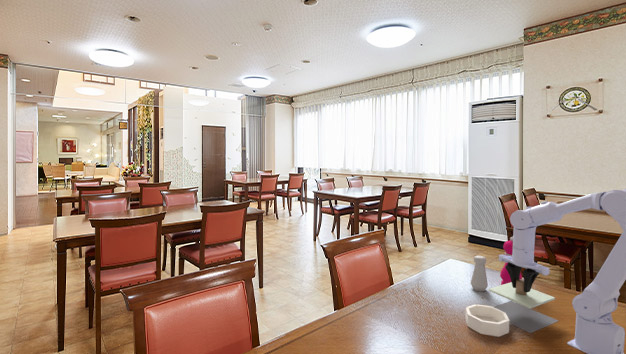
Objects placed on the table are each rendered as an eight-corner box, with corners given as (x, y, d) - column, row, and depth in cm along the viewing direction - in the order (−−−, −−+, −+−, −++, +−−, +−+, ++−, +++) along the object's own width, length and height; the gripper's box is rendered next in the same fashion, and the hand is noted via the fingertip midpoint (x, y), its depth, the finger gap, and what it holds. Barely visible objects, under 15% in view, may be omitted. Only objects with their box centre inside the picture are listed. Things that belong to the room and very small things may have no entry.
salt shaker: (489, 293, 120) (491, 259, 119) (472, 292, 121) (474, 258, 120) (484, 287, 126) (485, 254, 125) (468, 286, 127) (469, 253, 126)
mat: (558, 321, 101) (559, 320, 101) (530, 334, 94) (530, 333, 94) (511, 301, 114) (511, 300, 114) (482, 311, 107) (483, 310, 107)
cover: (554, 299, 100) (556, 285, 100) (529, 308, 95) (531, 293, 94) (513, 283, 112) (514, 270, 112) (488, 290, 106) (489, 277, 106)
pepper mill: (502, 290, 123) (504, 238, 122) (497, 282, 130) (499, 233, 129) (524, 292, 121) (526, 240, 120) (518, 284, 128) (520, 235, 126)
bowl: (515, 330, 96) (516, 317, 95) (491, 340, 91) (492, 326, 90) (481, 313, 106) (482, 302, 105) (458, 321, 101) (458, 309, 100)
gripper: (556, 252, 97) (553, 295, 98) (508, 240, 110) (506, 279, 111) (542, 255, 94) (540, 300, 95) (495, 243, 107) (493, 282, 108)
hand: (521, 289), depth 103 cm, fingers closed on cover, 3 cm apart
